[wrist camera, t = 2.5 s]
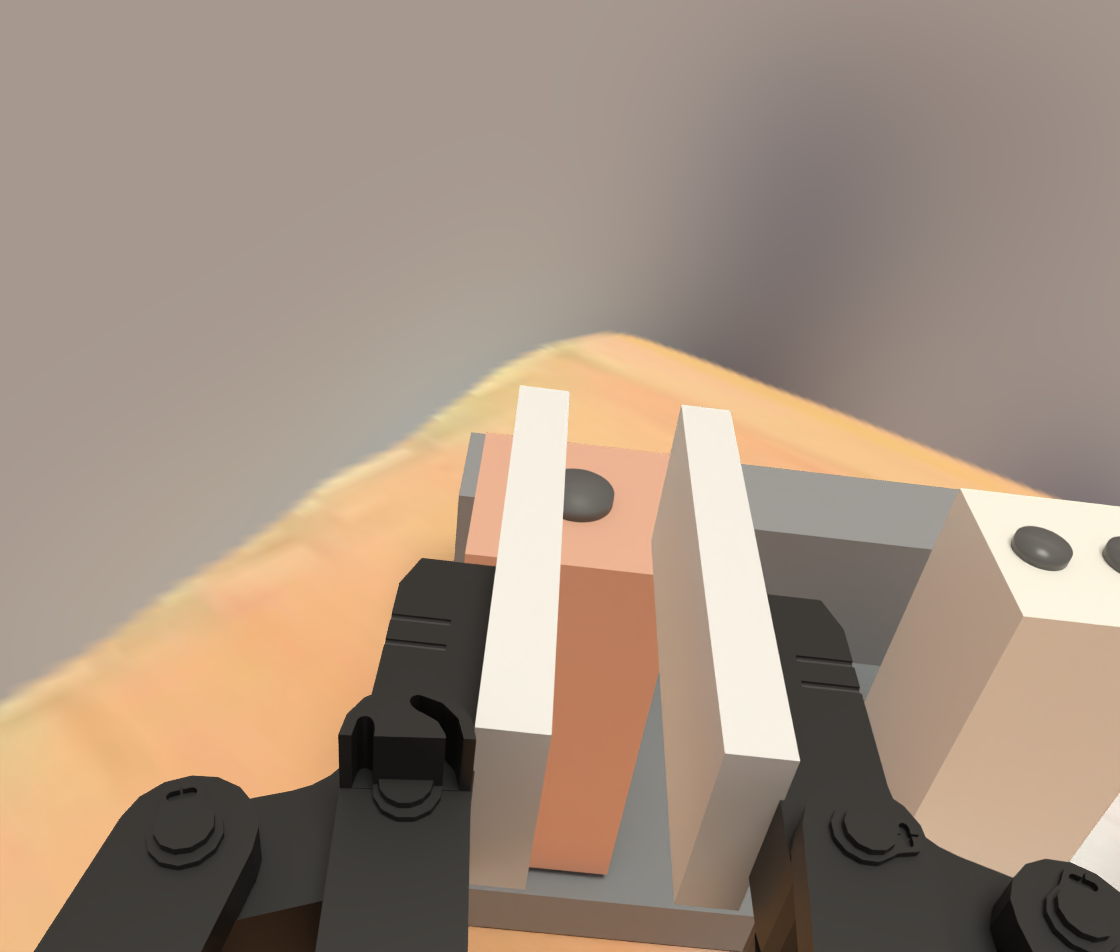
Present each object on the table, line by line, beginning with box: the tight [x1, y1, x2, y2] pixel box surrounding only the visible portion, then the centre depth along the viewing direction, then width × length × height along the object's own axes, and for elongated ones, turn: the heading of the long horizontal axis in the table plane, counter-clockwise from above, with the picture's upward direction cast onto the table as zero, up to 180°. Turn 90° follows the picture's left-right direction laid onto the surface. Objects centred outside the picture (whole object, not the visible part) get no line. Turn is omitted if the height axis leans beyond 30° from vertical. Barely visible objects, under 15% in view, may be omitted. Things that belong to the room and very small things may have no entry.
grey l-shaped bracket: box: [454, 432, 959, 952], centre depth 34 cm, size 15×20×8 cm
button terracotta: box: [464, 433, 670, 875], centre depth 28 cm, size 5×5×12 cm
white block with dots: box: [864, 488, 1120, 877], centre depth 28 cm, size 5×5×12 cm
